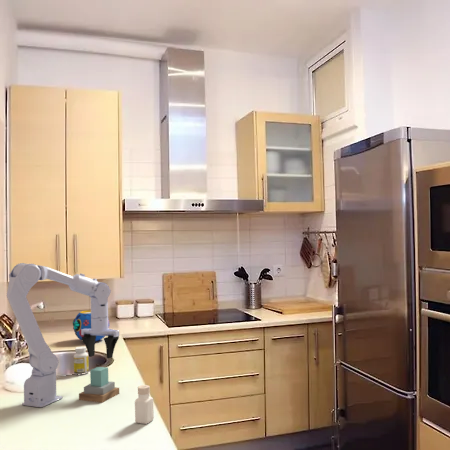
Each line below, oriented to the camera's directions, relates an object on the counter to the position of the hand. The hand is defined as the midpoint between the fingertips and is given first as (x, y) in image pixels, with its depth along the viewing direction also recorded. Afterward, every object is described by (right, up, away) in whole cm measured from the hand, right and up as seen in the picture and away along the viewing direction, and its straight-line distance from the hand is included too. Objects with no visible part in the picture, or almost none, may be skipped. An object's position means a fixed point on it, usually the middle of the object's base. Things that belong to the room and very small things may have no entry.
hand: (100, 356), depth 166 cm
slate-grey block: (+2, -8, -10) cm, 13 cm away
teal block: (+2, -6, -10) cm, 12 cm away
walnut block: (+2, -11, -10) cm, 15 cm away
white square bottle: (+20, -9, -33) cm, 39 cm away
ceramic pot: (-25, -14, +80) cm, 84 cm away
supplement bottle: (-12, -12, +19) cm, 25 cm away
